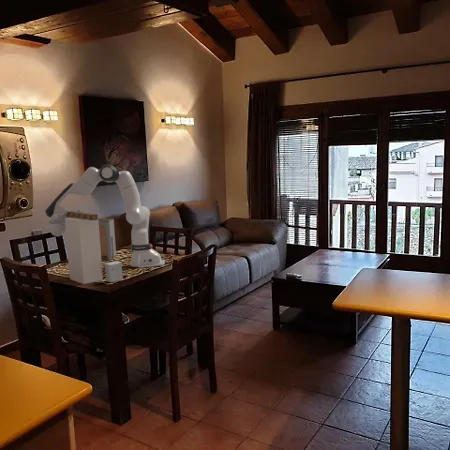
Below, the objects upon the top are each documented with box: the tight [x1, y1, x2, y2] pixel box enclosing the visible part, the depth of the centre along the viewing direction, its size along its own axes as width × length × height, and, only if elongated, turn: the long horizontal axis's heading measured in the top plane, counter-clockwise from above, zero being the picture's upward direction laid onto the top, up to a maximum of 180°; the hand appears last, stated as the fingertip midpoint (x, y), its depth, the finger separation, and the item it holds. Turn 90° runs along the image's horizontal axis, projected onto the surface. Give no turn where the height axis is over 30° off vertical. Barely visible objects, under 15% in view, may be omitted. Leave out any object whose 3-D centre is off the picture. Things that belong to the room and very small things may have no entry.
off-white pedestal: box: [65, 217, 104, 285], centre depth 278 cm, size 18×12×37 cm, turn 44°
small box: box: [104, 260, 124, 283], centre depth 275 cm, size 8×6×10 cm
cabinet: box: [98, 218, 117, 262], centre depth 339 cm, size 21×10×28 cm, turn 36°
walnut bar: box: [67, 210, 99, 220], centre depth 274 cm, size 32×3×3 cm, turn 44°
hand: (72, 211), depth 282 cm, fingers open, 8 cm apart
